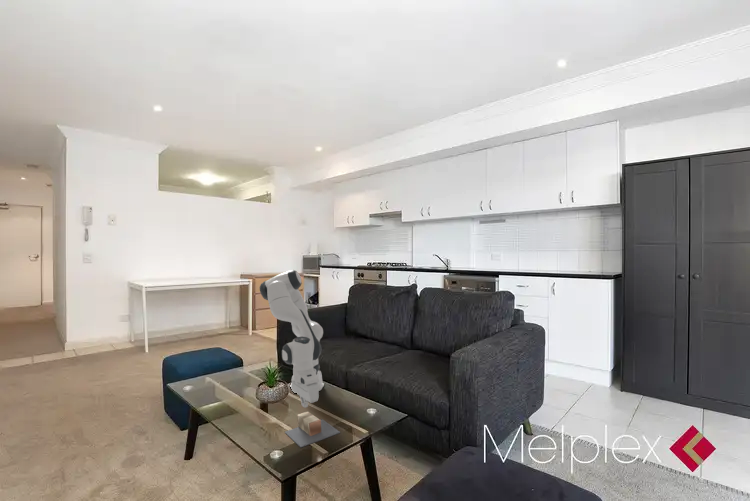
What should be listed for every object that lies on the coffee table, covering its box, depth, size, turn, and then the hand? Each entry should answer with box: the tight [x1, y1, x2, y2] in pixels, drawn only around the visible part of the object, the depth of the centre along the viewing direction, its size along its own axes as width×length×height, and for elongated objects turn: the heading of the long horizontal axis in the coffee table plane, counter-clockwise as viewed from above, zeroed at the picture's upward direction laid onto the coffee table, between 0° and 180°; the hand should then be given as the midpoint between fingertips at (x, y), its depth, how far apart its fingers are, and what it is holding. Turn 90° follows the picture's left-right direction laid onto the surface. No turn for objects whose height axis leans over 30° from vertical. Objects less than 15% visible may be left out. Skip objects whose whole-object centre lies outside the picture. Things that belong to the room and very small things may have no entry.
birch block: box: [297, 411, 321, 436], centre depth 158 cm, size 5×5×12 cm
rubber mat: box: [284, 418, 341, 448], centre depth 155 cm, size 16×18×1 cm
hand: (304, 406), depth 160 cm, fingers closed
